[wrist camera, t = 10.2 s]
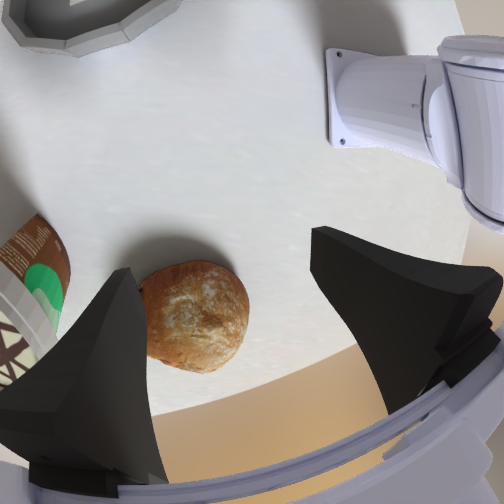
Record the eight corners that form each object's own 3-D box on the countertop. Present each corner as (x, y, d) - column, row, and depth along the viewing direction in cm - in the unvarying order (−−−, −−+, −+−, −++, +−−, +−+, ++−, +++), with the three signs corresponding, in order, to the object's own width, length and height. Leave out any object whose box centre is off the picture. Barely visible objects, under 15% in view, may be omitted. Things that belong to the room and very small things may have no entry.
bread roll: (215, 316, 30) (265, 361, 25) (131, 353, 24) (171, 416, 19) (217, 235, 25) (280, 277, 20) (108, 268, 19) (148, 336, 14)
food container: (61, 334, 21) (43, 422, 13) (11, 305, 18) (-23, 387, 10) (108, 238, 18) (77, 339, 10) (43, 197, 15) (-29, 275, 7)
